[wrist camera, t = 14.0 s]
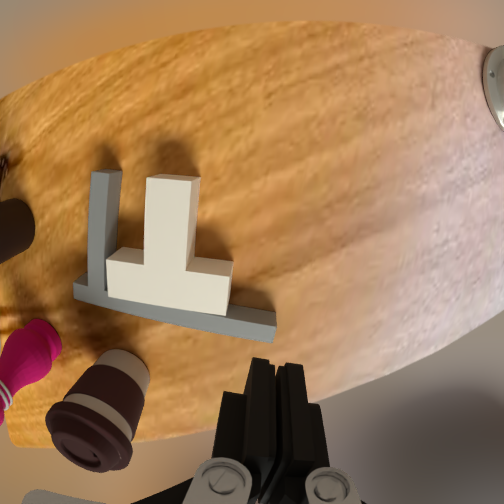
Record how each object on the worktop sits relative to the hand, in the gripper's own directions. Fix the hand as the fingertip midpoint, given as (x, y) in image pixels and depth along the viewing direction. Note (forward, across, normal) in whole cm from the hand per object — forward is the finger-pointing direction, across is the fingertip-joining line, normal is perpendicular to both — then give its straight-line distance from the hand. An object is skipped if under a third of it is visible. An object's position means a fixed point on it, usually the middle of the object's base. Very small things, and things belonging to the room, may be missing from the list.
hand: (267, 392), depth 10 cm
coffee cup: (+22, +14, +22) cm, 34 cm away
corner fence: (+22, +8, +4) cm, 24 cm away
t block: (+22, +9, +2) cm, 24 cm away
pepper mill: (+22, +27, +21) cm, 41 cm away
